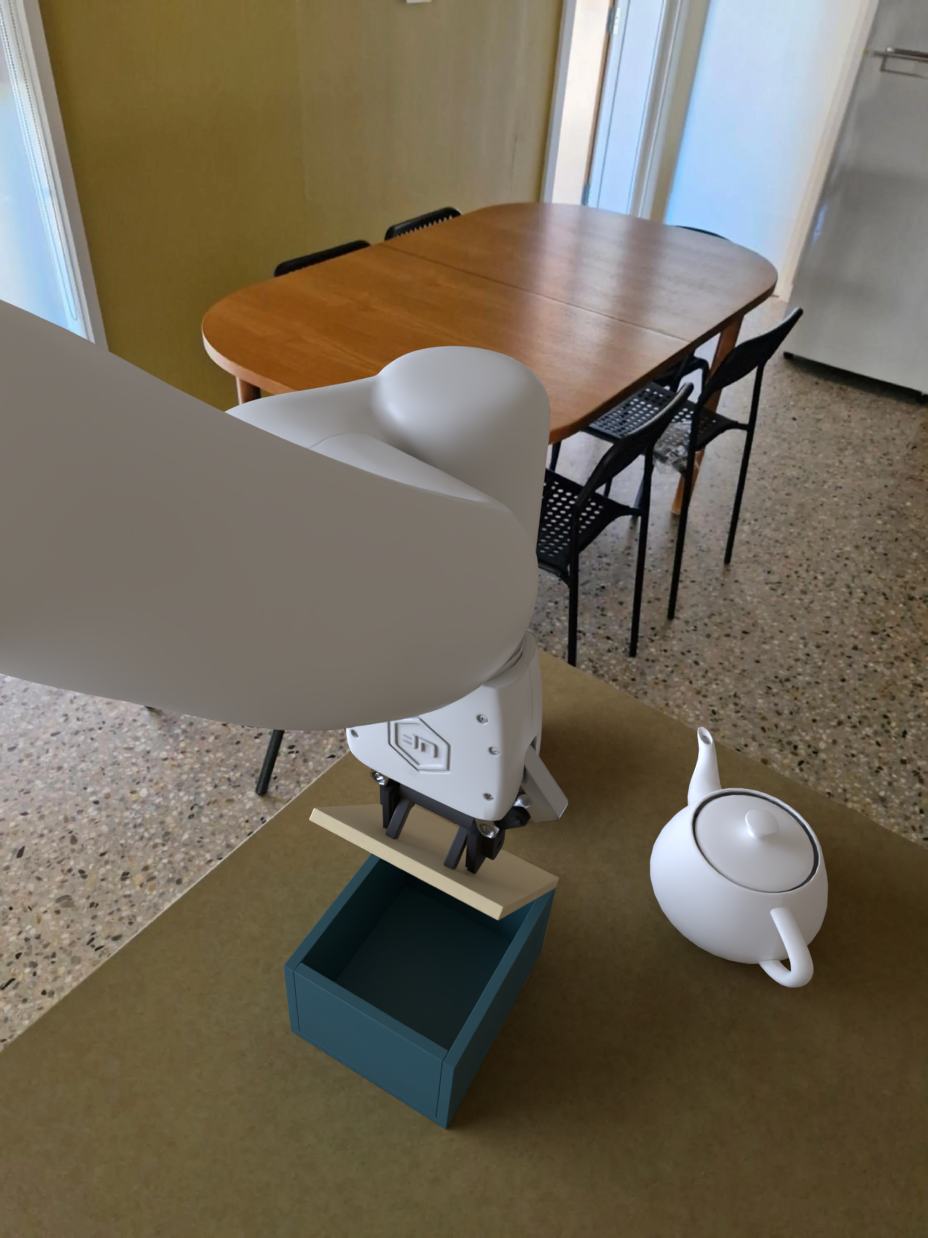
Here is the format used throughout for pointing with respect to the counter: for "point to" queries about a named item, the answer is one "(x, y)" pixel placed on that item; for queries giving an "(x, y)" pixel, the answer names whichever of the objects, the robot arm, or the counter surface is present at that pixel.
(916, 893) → the counter surface
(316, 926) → the teal open box
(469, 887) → the lid
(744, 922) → the teapot
